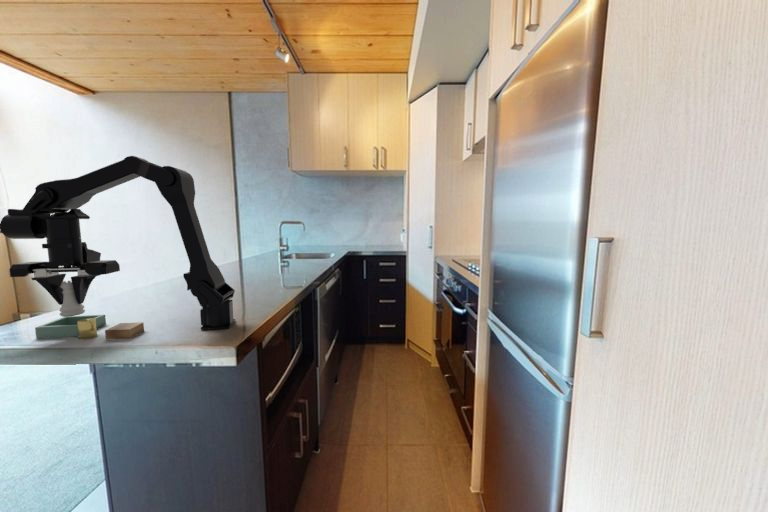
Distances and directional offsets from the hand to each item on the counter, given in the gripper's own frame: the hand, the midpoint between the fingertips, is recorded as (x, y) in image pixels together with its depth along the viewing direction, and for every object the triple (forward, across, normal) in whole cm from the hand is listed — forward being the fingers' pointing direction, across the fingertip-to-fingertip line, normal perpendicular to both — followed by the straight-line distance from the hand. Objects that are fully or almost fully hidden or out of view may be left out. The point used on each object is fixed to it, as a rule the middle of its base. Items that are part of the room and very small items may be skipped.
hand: (71, 303), depth 75 cm
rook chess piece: (+3, 0, 0) cm, 3 cm away
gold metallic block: (+7, -6, +6) cm, 11 cm away
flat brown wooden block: (+7, -14, +6) cm, 16 cm away
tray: (+7, 0, 0) cm, 7 cm away
